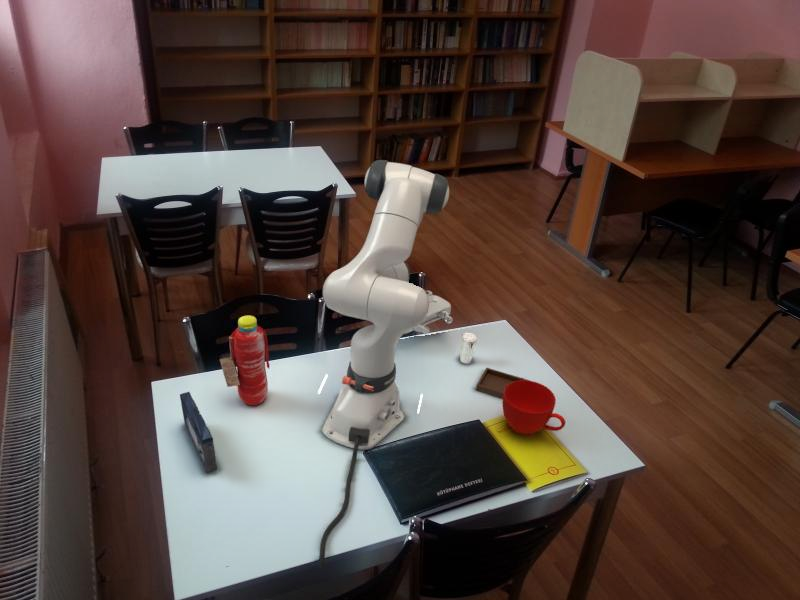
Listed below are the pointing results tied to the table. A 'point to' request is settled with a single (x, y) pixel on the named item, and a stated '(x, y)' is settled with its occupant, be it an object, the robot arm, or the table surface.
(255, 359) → the water bottle
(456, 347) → the table surface
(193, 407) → the vhs cassette tape
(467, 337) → the milkshake
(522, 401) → the ceramic cup
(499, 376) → the tray
